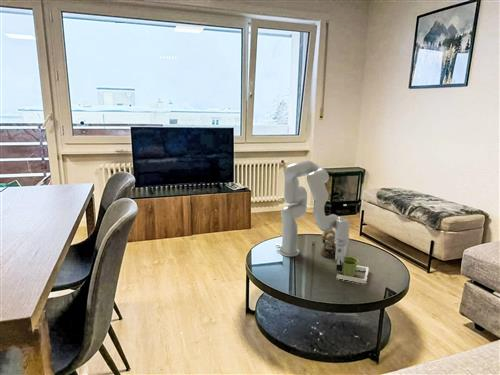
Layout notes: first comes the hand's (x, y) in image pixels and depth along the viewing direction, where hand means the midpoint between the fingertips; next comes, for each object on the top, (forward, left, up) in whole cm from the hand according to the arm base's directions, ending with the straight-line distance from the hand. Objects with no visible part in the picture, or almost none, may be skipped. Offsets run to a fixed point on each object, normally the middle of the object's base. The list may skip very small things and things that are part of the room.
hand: (339, 270), depth 192 cm
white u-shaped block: (+8, 0, -1) cm, 8 cm away
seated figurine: (-9, +23, -2) cm, 25 cm away
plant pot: (+5, 0, -2) cm, 5 cm away
